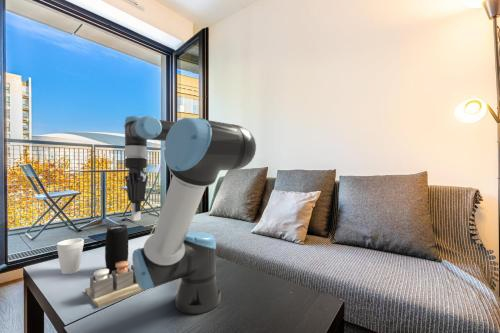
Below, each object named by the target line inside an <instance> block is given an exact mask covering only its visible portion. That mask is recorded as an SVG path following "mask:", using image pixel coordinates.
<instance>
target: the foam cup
mask: <svg viewBox="0 0 500 333" xmlns="http://www.w3.org/2000/svg"><path fill="white" fill-rule="evenodd" d="M84 245H85V239H84V238H79V237H78V238H69V239H65V240H61V241H59V242H57V243H56V250H57V255H58V261H59V266H60V272H61V275H71V274H74V273H77V272H79V270H80V267H81V263H82V262H81V261H82V256H83V249H84Z"/></svg>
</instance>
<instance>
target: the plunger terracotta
mask: <svg viewBox="0 0 500 333" xmlns="http://www.w3.org/2000/svg"><path fill="white" fill-rule="evenodd" d="M129 266H130V261H129V260H128V261H121V262H118V263H116V268H117V274H118V275H119V274H122V273H126V272H128V267H129Z"/></svg>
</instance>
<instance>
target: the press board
mask: <svg viewBox="0 0 500 333" xmlns="http://www.w3.org/2000/svg"><path fill="white" fill-rule="evenodd" d="M84 291H85V293H86V295H87V296H88V297H89V299H90V300H91V301H92V302H93V303H94V304H93V305H95V306H96V307H97V309H100V308H103V307H106V306H108V305H111V304H113V303H116V302H118V301H121V300H124V299H126V298H129V297H132V296H133V295H136V294H140V293H141V292H145V291H146V290H143V289H141V288H140V287H139V286H138V284H137V281H136V278H135V274H134V269H133V264H132V265H130V267H129V266H128V272H126V273H122V274H119V275H118V274H117V270H114V271H112V274H109V273H108V274H107V278H106V279H103V280H100V281H97V282H96V281H95V276H94V275H93V276H91V277H89V287H86V288H85V290H84Z"/></svg>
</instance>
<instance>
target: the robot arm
mask: <svg viewBox="0 0 500 333" xmlns="http://www.w3.org/2000/svg"><path fill="white" fill-rule="evenodd" d="M123 126H124V157H125V158H124V168H126V169H128V175H126V176H125V177H124V179H125V182H126V190H127V200H128V201H129V202H130V203H131V221H132V222H136V221H141V220H142V219H141V218H142V216H141V215H142V210H141V206H142V202H144V201H145V198H146V197H145V196H146V188H147V183H148V182H147V181H148V179H149V177H148V176H147V175H145V171H144V169H147V167H148V159H147V156H148V150H147V149H148V148H147V147H148V146H147V144H148V140H149V141H160V142H162V141H163V142H164V148H165V149H164V150H163V156H164V161H165V163H166V165H167V167H168V170H169V172H170V174H171V175H172V177H171V179H170V182H169V186H168V189H167V191H166V196H165V198H164V202H163V204H162V207H161V211H160V213H159V217H158V219H157V222H156V226H155V228H154V231H153V234H152V235H150V236H149V237H148V238H147V239H146V241H145V242H144V245H143V247H138V248H137V249H135V250H134V251H133V253H132V265H133V269H134V274H135V278H136V281H137V284H138V286H139V287H140V288H141V289H143V290H145V291H147V290H151V289H156V288H157V287H160V286H162V285H165V284H168V283H171V282H174V281H177V280H179V279H180V283H179V286H178V289H177V292H176V295H175V307H176V309H177V310H178V311H180V312H182V313H184V314H190V315H197V314H203V313H207V312H210V311H212V310H213V309H215V308H216V307H218V305H219V304H220V303H221V295H222V294H221V293H222V292H221V289H220V287H219V284H218V280H217V278H216V277H217V276H216V272H217V271H216V270H217V268H216V266H217V264H216V263H217V262H216V260H217V256H216V255H217V254H216V253H217V250H216V249H217V242H216V237H215V236H214V235H213V234H211V233H208V232H203V231H189V230H190V228H191V225H192V223H193V220H194V218H195V215H196V213H197V210H198V207H199V205H200V203H201V201H202V198H203V195H204V192H206V188H207V187H209V186H212V185H214V184H215V182H216V180H217V178H218V175H219V173H220V172H221V171H236V170H241V169H243V168H245V167H246V166H248V165H249V164H250V163H251V162H252V161H253V160H254V158H255V155H256V151H257V144H256V140H255V137H254V135H253V134H252V132H250V131H249V130H248V129H247V128H245V127H243V126H242V125H237V124H233V123H232V124H231V123H226V122H221V121H216V120H215V121H214V120H210V119H205V118H203V117H202V118H201V117H199V118H198V117H196V118H193V117H182V118H181V119H178V120H176V121H169V120H163V119H158V118H157V117H155V116H153V115H145V116H139V115H130V116H128V115H127V116H126V117H125V119H124V125H123Z"/></svg>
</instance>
